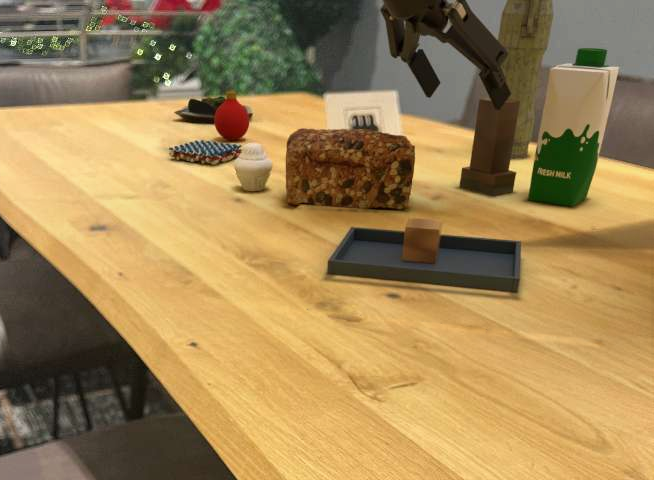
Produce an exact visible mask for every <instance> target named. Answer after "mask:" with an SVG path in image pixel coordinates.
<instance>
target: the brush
mask: <svg viewBox="0 0 654 480" xmlns="http://www.w3.org/2000/svg"><path fill="white" fill-rule="evenodd" d="M520 102H521V101H520V100H515V99H509V98H508V99H507V100H506V102H505V103H504V105H503V106H502V107H501V109H500V110H496V109H495V107H494V105H493V103H492V101H491V99H490V97H485V98H479V99H478V106H477V107H478V108H477V113H476V121H475V126H474V133H473V140H472V141H473V142H472V147H471V153H470V154H471V155H470V163H469V166H464V167H461V172H460V180H459V188H461V189H465V190H469V191H473V192H476V193H480V194H483V195H487V196H491V197H495V196H498V195H504V194H508V193H513V192H514V188H515V181H516V177H517V171H514V170H510V166H511V165H510V164H511V160H512V159H511V154H512V148H513V142H514V137H515V131H516V125H517V119H518V113H519V108H520Z"/></svg>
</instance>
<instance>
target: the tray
mask: <svg viewBox="0 0 654 480" xmlns="http://www.w3.org/2000/svg"><path fill="white" fill-rule="evenodd" d="M404 234H405V230H394V229H393V230H392V229H383V228H371V227H359V226H351V227H350V228H349V230H348V231H347V233H346V234H344V236H343V238H342V240H341V241H340V242H339V244H338V245H337V247H336V248H335V249H334V251H333V253H332V254H331V255H330V257H329V258H328V260H327V270H326V271H327V275H333V276H334V275H335V276H343V277H344V276H345V277H354V278H365V279H375V280H385V281H397V282H403V283H404V282H405V283H414V284H425V285H435V286H444V287H445V286H446V287H456V288H466V289H476V290H484V291H495V292H496V291H497V292H506V293H517V294H518V291H519V286H520V280H521V259H522V241H521V240H511V239H499V238H487V237H475V236H464V235H454V234H453V235H452V234H442V233H441V238H440V246H439V253H438V256H437V259H436V263H435V264H434V263H423V262H412V261H402V253H403V243H404Z"/></svg>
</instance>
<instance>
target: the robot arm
mask: <svg viewBox="0 0 654 480" xmlns="http://www.w3.org/2000/svg"><path fill="white" fill-rule="evenodd" d="M382 2H383V4H382V6H381V7H380V9H379V10H380V13H381V15H382V17H383V19H384V21H385V28H386V29H385V30H386V35H387V41H388V47H389V54H390V56H391V57H392V58H393V59H398V57H399V58H400V60H401V62H403V63H405V64H407V66H408V68H409V70H410V71H411V73H412V75H413V76H414V78H415V79H416V82H417V83H418V84H419V86H420V88H421V90H422V92H423V93H424V96H425V97H426V98H428V99H431V98H432V96H433V95H434V93H435V92H436V91H437V89H438V87H440V85H441V80H440V79H439V77H438V74H437V73H436V71H435V69H434V68H433V66H432V64H431V62H430V60H429V58H428V56H427V55H426V52H425V50H424V49H422V48H419V46H420V45H421V43H420V38H421V36H422V37H427V36H429V37H433V38H436V39H437V40H438V41H439V42H441V43H442V44H449V45H450V46H451V47H452V48H454V49H455V50H456V51H457V52H459V53H460V54H461V55H462V56H463V57H464V58H466V59H467V60H468V61H469V62H470V63H471V64H472V65H474V66H475V67H476V68H477V69H479V70H480V72H479V73H478V76H479V78H480V81H481V82H482V85H483V86H484V89H485V91H486V93H487V95H488V98H490V99H491V101H492V103H493V105H494V107H495V109H496V110H500V109H501V107H502V106H503V105H504V103H505V102H506V100H507V99H508V98H509V96H510V95H511V92H510V90H509V88H508V86H507V84H506V81H505V80H506V78H505V75H504V73H503V71H502V69H501V67H500V66H501V65H502V63H503V62H504V61H505V59H506V58H507V56H508V52H507V50H506V49H505V48H504V47H503V46H502V45H501V44H500V43H499V41H498V38H496V37H495V36H494V34H493V33H492V32H491V31H490V30H489V29H488V27H486V25H485V24H484V23H483V21H481V20H480V19H479V18H478V16H477V15H476V14H475V13H474V12H473V11H472V9H471V7H470V5H469V4H468V2H467V0H455V1H454V2H449V1H448V0H382ZM448 24H449V28H448V29H447V31H446V32H444V30H445V29H446V27H447V26H448Z"/></svg>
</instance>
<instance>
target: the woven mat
mask: <svg viewBox="0 0 654 480" xmlns="http://www.w3.org/2000/svg"><path fill="white" fill-rule="evenodd" d="M242 147H243V145H241V144H240V145H238V144H236V143H234V144H232V143H229V142H227V143H226V142H217V141H210V140H204V139H202V140H199V141H198V140H194V141H189V142H188V143H187V142H185V143H184V144H179V145H175V146H174V147H169V148H168V150H171V152H169V153H168V155H169V157H171V158H175V160H176V161H180V160H182V161H187V162H191V163H195V162H201V164H202V165H204V164H211V165H212V166H215V165H217V164H219V162H221V163H225V162H227V161H231V160H232V159H233V158H236V159H237V158H238V157H239V155H240V154H241V153H242Z"/></svg>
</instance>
